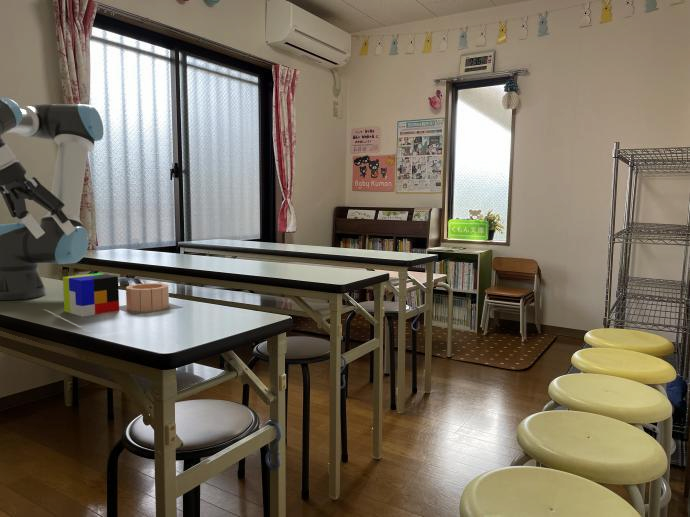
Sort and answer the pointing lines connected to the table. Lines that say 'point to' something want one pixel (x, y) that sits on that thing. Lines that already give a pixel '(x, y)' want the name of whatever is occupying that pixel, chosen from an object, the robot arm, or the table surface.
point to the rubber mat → (124, 308)
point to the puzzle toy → (91, 294)
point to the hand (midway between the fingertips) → (55, 234)
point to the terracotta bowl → (147, 297)
